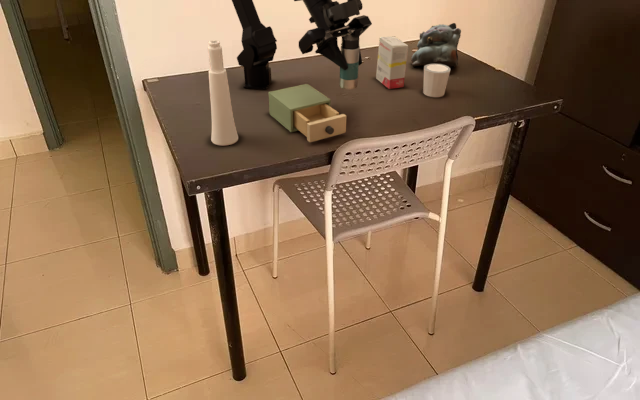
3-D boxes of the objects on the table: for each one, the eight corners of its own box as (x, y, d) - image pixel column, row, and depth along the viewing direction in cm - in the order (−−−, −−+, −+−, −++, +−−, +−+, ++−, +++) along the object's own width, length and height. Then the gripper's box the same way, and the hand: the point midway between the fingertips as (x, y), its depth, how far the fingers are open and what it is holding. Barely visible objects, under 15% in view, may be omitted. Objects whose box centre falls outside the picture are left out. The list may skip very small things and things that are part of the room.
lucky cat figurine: (401, 65, 152) (407, 18, 151) (425, 72, 160) (431, 28, 159) (443, 64, 141) (450, 13, 140) (466, 72, 150) (473, 23, 148)
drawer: (348, 134, 114) (349, 117, 112) (312, 144, 110) (312, 127, 108) (322, 115, 122) (322, 99, 120) (287, 124, 118) (287, 107, 116)
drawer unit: (330, 122, 121) (330, 99, 118) (291, 132, 117) (290, 109, 113) (307, 105, 129) (307, 83, 126) (269, 114, 124) (268, 92, 121)
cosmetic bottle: (238, 132, 116) (229, 36, 104) (238, 145, 111) (228, 46, 99) (212, 133, 116) (199, 37, 103) (210, 146, 111) (197, 47, 98)
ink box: (404, 87, 139) (409, 44, 132) (388, 89, 138) (392, 46, 131) (391, 76, 146) (394, 35, 139) (375, 78, 144) (378, 36, 137)
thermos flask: (340, 89, 116) (341, 41, 109) (338, 82, 119) (340, 34, 113) (358, 89, 116) (361, 40, 110) (356, 82, 120) (358, 34, 113)
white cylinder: (449, 90, 137) (453, 65, 133) (443, 100, 132) (447, 74, 128) (424, 86, 140) (427, 61, 136) (417, 95, 135) (420, 69, 131)
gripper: (307, -10, 102) (344, 58, 102) (368, -23, 113) (402, 38, 113) (282, 22, 111) (316, 84, 111) (342, 7, 122) (373, 63, 122)
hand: (353, 66), depth 114 cm, fingers closed on thermos flask, 4 cm apart
